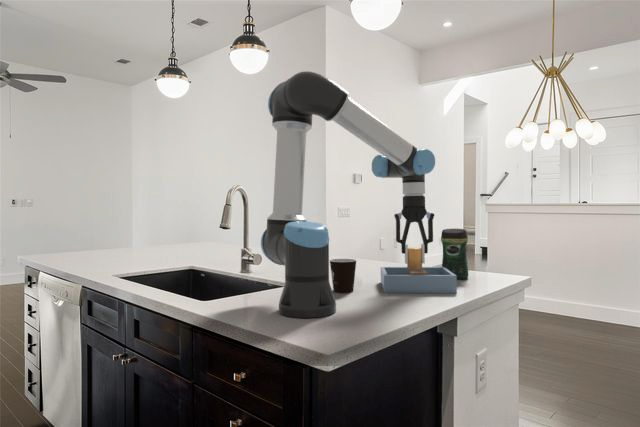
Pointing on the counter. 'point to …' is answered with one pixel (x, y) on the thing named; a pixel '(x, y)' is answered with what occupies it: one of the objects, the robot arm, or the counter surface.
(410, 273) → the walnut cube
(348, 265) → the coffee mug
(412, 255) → the orange cylinder
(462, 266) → the coffee jar
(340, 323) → the counter surface
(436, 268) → the tote
